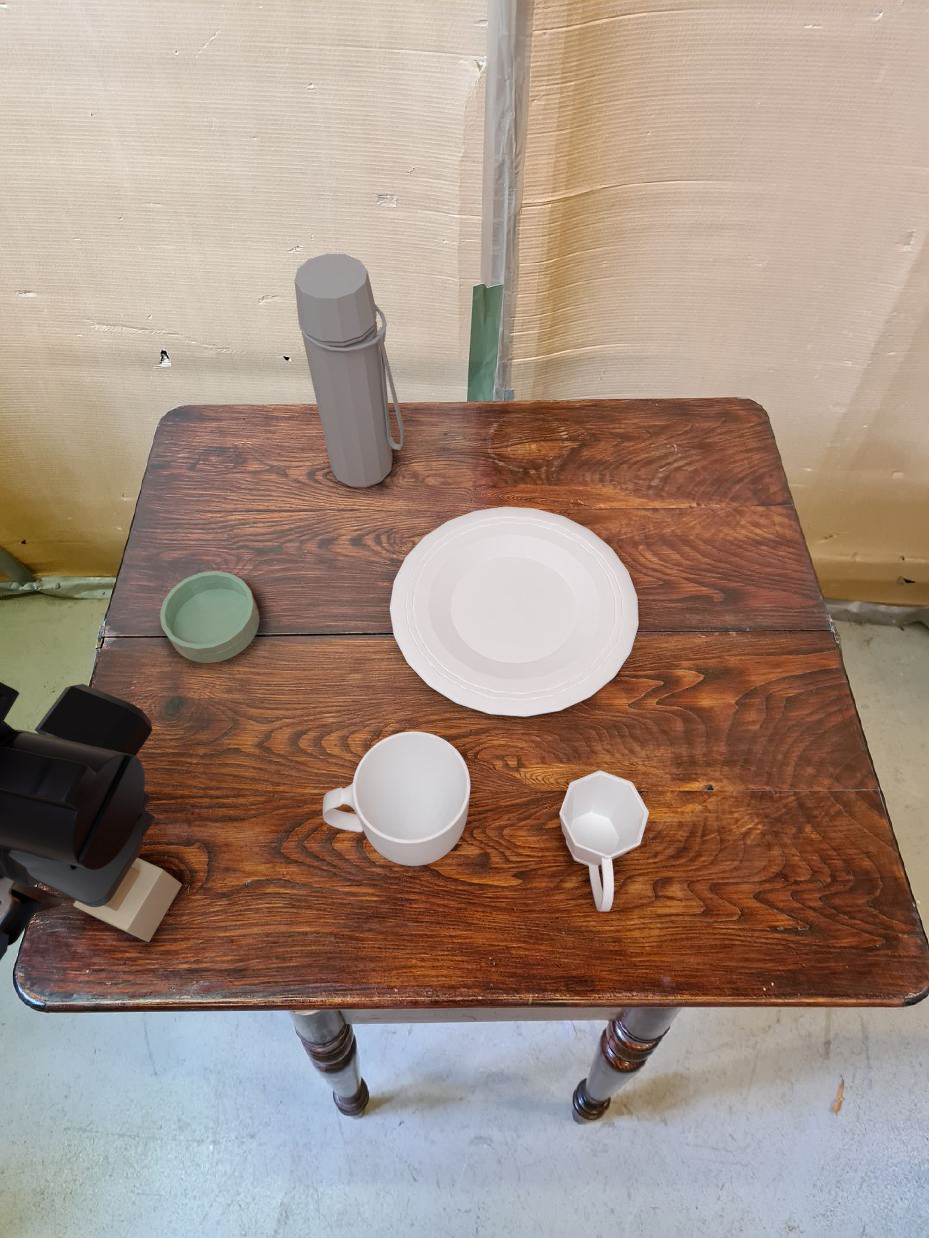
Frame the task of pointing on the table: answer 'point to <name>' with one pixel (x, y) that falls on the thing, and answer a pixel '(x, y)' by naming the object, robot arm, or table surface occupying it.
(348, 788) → the mug
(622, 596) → the plate
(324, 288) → the water bottle
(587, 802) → the cup
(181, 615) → the bowl
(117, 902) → the stirring stick
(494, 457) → the table surface
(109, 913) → the stick stand
